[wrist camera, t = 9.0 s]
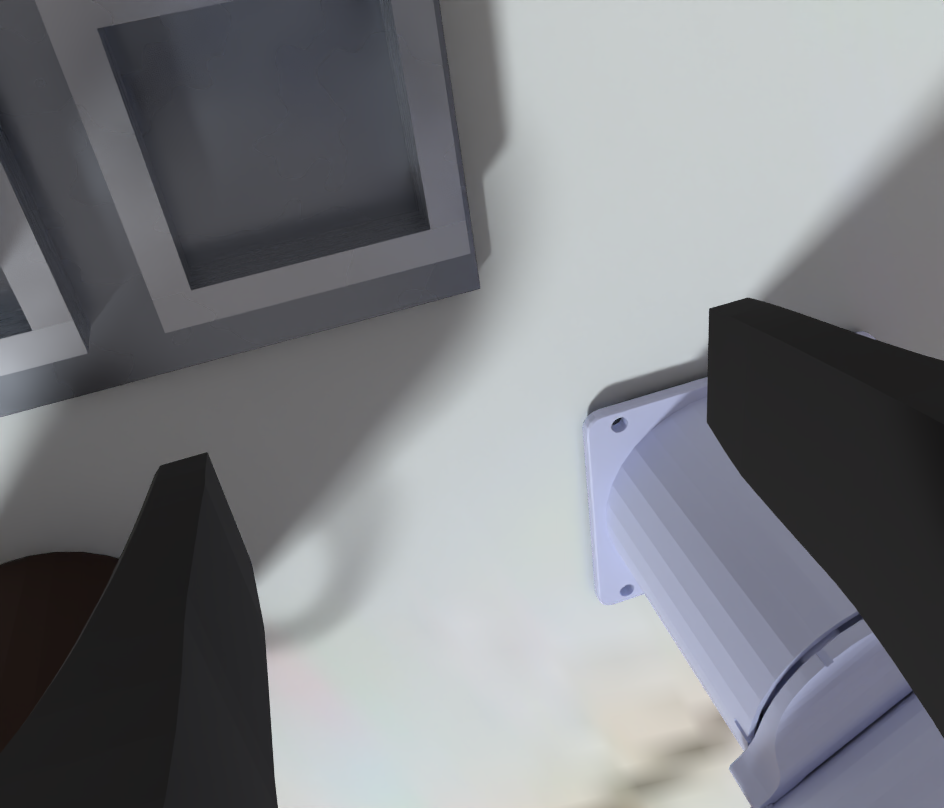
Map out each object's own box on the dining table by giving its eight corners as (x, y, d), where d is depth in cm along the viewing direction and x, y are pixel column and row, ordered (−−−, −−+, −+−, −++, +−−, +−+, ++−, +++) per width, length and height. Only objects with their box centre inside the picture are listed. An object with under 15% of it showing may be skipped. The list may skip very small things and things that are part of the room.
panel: (402, -198, 17) (427, -198, 15) (473, 278, 22) (495, 310, 21) (-581, -29, 14) (-662, -9, 13) (-211, 459, 20) (-239, 510, 18)
